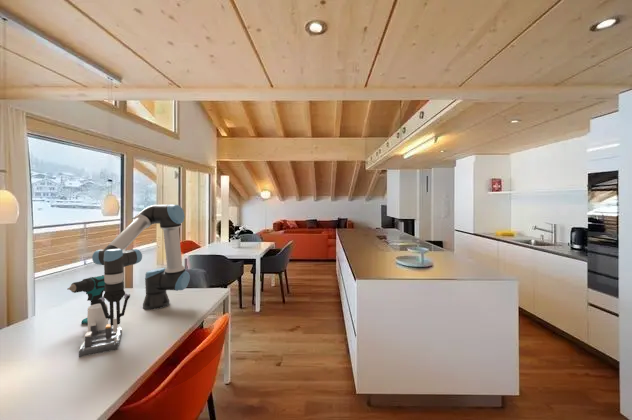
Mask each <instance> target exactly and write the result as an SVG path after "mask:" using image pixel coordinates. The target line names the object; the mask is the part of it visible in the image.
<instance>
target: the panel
mask: <svg viewBox="0 0 632 420" xmlns="http://www.w3.org/2000/svg"><path fill="white" fill-rule="evenodd" d="M122 334H123V328H122V326H118V331H117V332H116V333H113V327H112V336H111V337H109V338H106V330H105V329H104V330H98V331H97V335H92V342H93V343H92V346H90V347H85V339H84V340H83V342H82V344H81V346H80V348H79V350H78V358H81V357H86V356H92V355H96V354H102V353H107V352H113V351H118V350H119V346H120V342H121V339H122V336H123V335H122Z"/></svg>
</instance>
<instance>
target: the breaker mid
mask: <svg viewBox="0 0 632 420" xmlns="http://www.w3.org/2000/svg"><path fill="white" fill-rule="evenodd" d="M112 328H113V325H112V326H111V325H110V323H108V324H107V325H106V327H105V330H106V338H109V337H111V336H112Z"/></svg>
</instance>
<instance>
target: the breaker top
mask: <svg viewBox="0 0 632 420" xmlns="http://www.w3.org/2000/svg"><path fill="white" fill-rule="evenodd" d="M84 340H85V347H90V346H92V343H93V342H92V332H88V331H87V332H86V333H85V334H84Z"/></svg>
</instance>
